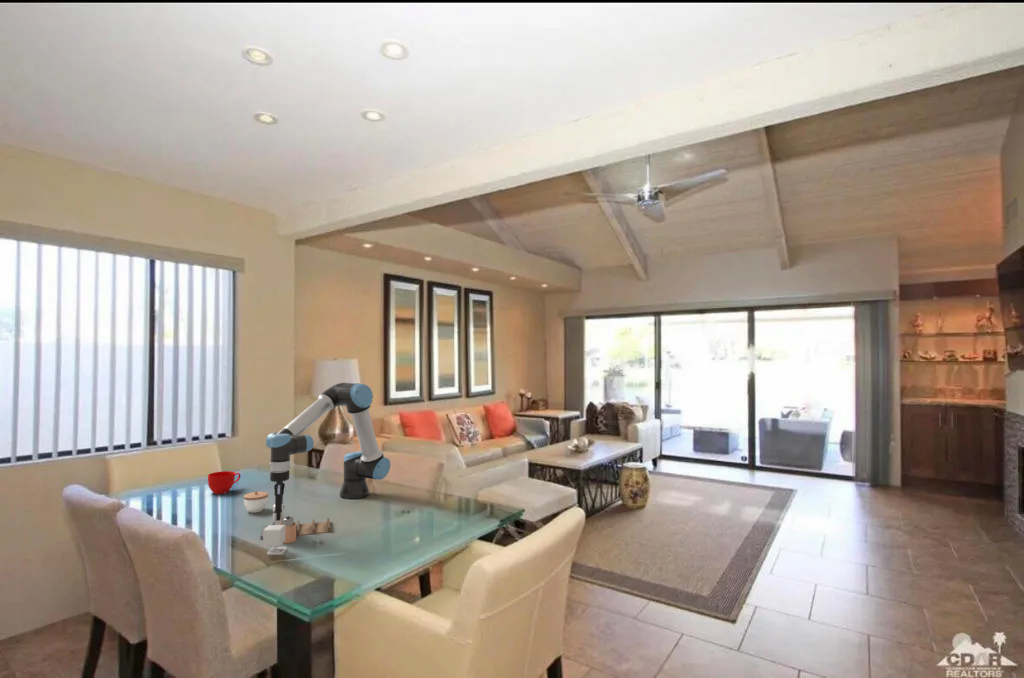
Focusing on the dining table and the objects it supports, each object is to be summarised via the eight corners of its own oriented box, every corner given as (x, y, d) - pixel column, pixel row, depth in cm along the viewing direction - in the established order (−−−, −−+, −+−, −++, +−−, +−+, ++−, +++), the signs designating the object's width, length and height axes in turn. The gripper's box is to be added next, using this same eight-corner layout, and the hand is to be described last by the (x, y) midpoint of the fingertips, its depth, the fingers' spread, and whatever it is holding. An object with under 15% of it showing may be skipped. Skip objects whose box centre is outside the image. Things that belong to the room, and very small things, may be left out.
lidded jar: (257, 515, 246) (258, 495, 246) (238, 513, 248) (238, 493, 248) (272, 508, 256) (273, 489, 256) (253, 506, 258) (254, 487, 258)
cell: (283, 524, 224) (283, 501, 224) (282, 527, 220) (283, 504, 221) (273, 525, 223) (273, 502, 223) (272, 528, 219) (272, 505, 219)
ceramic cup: (246, 490, 288) (246, 472, 288) (215, 497, 274) (215, 478, 274) (233, 486, 295) (233, 468, 295) (202, 493, 280) (202, 474, 281)
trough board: (328, 523, 236) (329, 517, 236) (330, 533, 223) (330, 527, 223) (297, 526, 231) (297, 521, 231) (296, 536, 218) (296, 531, 218)
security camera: (268, 550, 203) (269, 524, 203) (287, 550, 204) (287, 524, 204) (262, 556, 197) (263, 530, 197) (281, 556, 197) (282, 529, 198)
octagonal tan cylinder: (296, 538, 217) (296, 521, 217) (295, 543, 211) (296, 526, 211) (279, 539, 214) (279, 522, 214) (278, 545, 208) (278, 527, 208)
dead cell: (293, 538, 215) (293, 514, 215) (292, 541, 211) (293, 517, 212) (282, 539, 214) (283, 515, 214) (281, 542, 210) (282, 518, 210)
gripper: (271, 467, 229) (270, 520, 228) (268, 475, 213) (267, 533, 212) (290, 466, 232) (288, 518, 231) (288, 474, 216) (287, 531, 215)
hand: (278, 525), depth 222 cm, fingers closed on cell, 4 cm apart
